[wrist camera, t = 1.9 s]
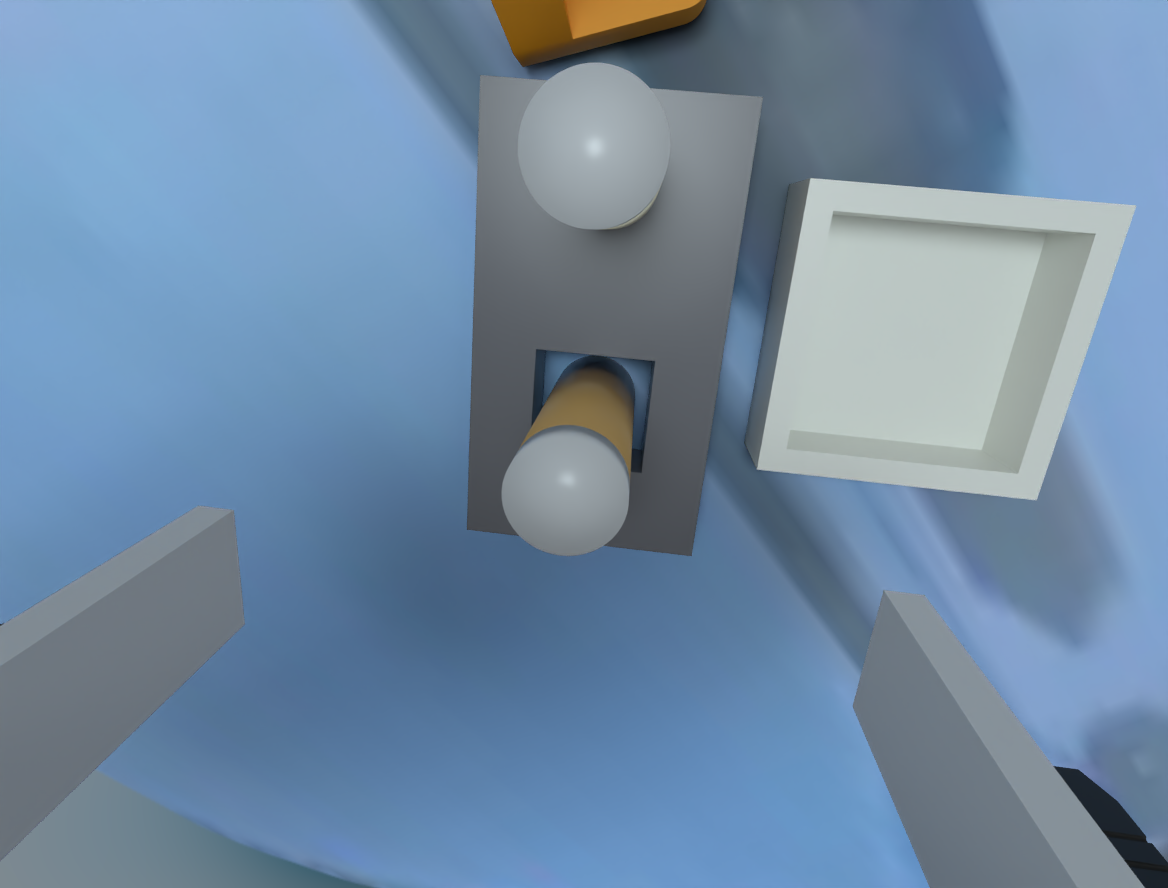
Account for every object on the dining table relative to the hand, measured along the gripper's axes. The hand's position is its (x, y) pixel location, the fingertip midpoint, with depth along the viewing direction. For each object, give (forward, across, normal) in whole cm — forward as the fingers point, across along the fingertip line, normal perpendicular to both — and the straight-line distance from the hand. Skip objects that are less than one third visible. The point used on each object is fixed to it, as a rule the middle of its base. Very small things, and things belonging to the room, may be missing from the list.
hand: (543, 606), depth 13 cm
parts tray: (+17, +12, +4) cm, 22 cm away
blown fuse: (+17, 0, 0) cm, 17 cm away
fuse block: (+17, 0, +3) cm, 18 cm away
